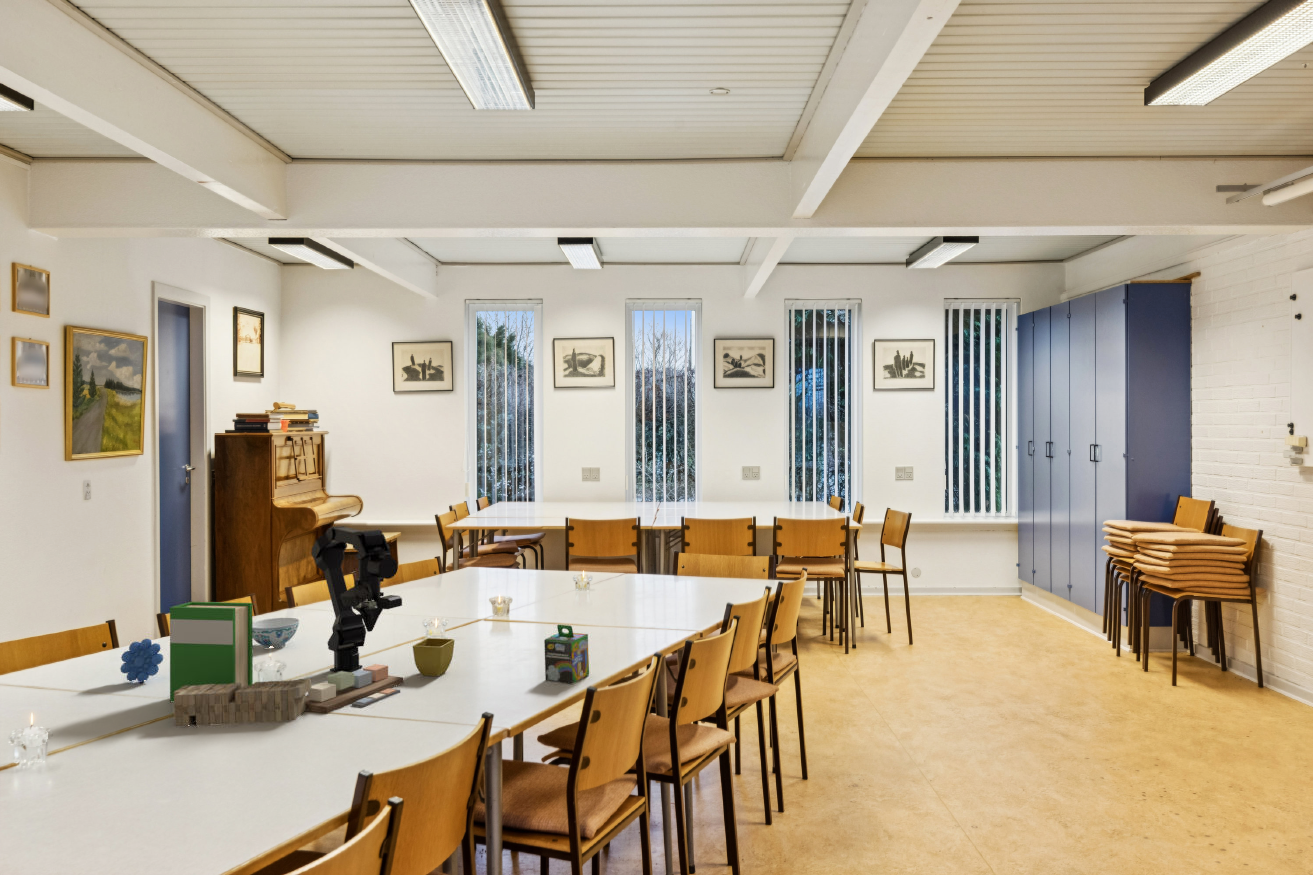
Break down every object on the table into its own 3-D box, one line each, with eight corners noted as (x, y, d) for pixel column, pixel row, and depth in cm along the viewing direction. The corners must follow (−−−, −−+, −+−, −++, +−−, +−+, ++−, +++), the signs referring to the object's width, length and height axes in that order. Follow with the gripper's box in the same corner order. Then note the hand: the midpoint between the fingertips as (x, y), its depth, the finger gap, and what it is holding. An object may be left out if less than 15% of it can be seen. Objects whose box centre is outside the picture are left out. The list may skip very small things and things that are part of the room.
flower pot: (440, 679, 212) (440, 646, 212) (411, 677, 214) (411, 645, 214) (455, 670, 221) (455, 638, 221) (427, 668, 223) (427, 637, 223)
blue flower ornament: (172, 677, 217) (172, 634, 217) (156, 684, 210) (156, 640, 210) (131, 677, 217) (131, 634, 217) (114, 684, 210) (114, 640, 211)
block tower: (169, 732, 177) (301, 721, 181) (167, 695, 177) (299, 685, 181) (185, 720, 185) (312, 709, 189) (184, 684, 185) (310, 675, 189)
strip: (351, 705, 191) (351, 702, 191) (389, 690, 203) (389, 687, 203) (362, 707, 189) (362, 703, 189) (400, 692, 201) (400, 688, 201)
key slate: (345, 685, 201) (345, 674, 201) (358, 681, 206) (358, 669, 206) (358, 687, 200) (358, 676, 200) (371, 682, 204) (371, 671, 204)
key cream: (308, 699, 190) (308, 687, 190) (322, 694, 195) (322, 682, 195) (321, 701, 189) (321, 689, 189) (336, 696, 193) (335, 684, 193)
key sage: (327, 687, 196) (327, 675, 196) (341, 682, 200) (341, 671, 200) (340, 689, 194) (340, 677, 194) (354, 684, 198) (354, 672, 198)
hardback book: (252, 695, 200) (252, 602, 201) (232, 704, 193) (232, 608, 193) (191, 692, 203) (191, 601, 203) (170, 701, 195) (169, 607, 196)
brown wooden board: (291, 707, 190) (291, 700, 190) (370, 678, 214) (370, 672, 214) (327, 713, 185) (327, 707, 185) (403, 682, 209) (403, 677, 209)
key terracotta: (363, 679, 207) (363, 668, 207) (375, 674, 211) (375, 663, 211) (375, 681, 205) (375, 670, 205) (388, 676, 209) (388, 665, 209)
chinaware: (308, 644, 253) (308, 620, 253) (264, 654, 240) (264, 629, 240) (282, 638, 261) (282, 615, 261) (238, 648, 248) (238, 624, 248)
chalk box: (589, 675, 215) (589, 622, 215) (572, 684, 206) (572, 629, 207) (561, 671, 218) (561, 619, 219) (543, 680, 210) (543, 626, 210)
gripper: (321, 577, 211) (321, 634, 211) (373, 581, 203) (373, 640, 203) (352, 571, 221) (353, 626, 221) (403, 575, 214) (403, 631, 213)
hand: (369, 631), depth 214 cm, fingers closed
